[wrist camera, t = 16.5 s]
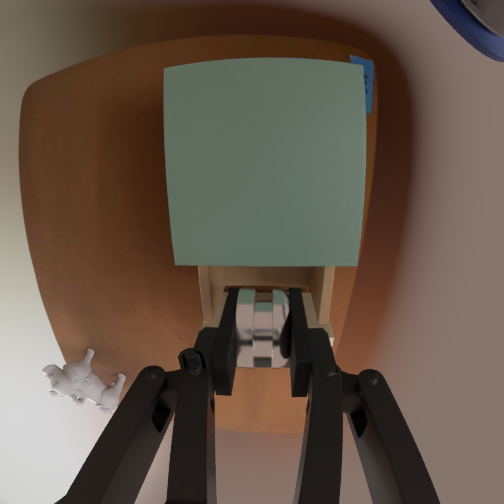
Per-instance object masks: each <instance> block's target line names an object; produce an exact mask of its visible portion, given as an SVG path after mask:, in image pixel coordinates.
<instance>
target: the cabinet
mask: <svg viewBox="0 0 504 504" xmlns="http://www.w3.org/2000/svg"><path fill="white" fill-rule="evenodd" d="M163 105H164V147H165V166H166V182H167V195H168V206H169V217H170V226H171V235H172V244H173V252H174V259H175V265H194V266H357V263H358V255H359V247H360V239H361V229H362V218H363V206H364V191H365V170H366V108H365V88H364V74H363V65H358V64H352V63H345V62H337V61H328V60H317V59H303V58H241V59H226V60H215V61H206V62H198V63H191V64H185V65H179V66H173V67H167V68H164V94H163Z"/></svg>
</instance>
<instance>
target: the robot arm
mask: <svg viewBox="0 0 504 504" xmlns="http://www.w3.org/2000/svg"><path fill="white" fill-rule="evenodd" d="M457 2H458V3H459V4H460V5H461V6H462V8H463V9H464V10H465V11H466V12H467V13H468V14H469V15H470V16H471V17H472V18H473V19H474V20H475V21H476V22H477V23H478V24H479V25H480V26H481V27H482V28H484V29H485V30H486V31H488V32H489V33H491V34H492V35H494V36H496V37H498V38H504V0H457ZM239 290H240V288H235V287H230V288H229V291H228V295H227V298H226V302H225V305H224V309H223V312H222V316H221V320H220V323H219V327H204V328H203V329H202V330H201V331H200V332H199V334H198V337H197V340H196V343H195V345H194V348H188V349H185V350H183V351H182V352H181V353H180V354H179V356H178V359H179V363H180V367H181V369H179V370H176V371H169V372H165V371H164V370H163V369H162V368H161V367H159V366H148V367H146V368H144V369H143V370H142V371H141V372H140V373H139V375H138V376H137V378H136V379H135V381H134V382H133V384H132V386H131V387H130V389H129V390H128V392H127V393H126V395H125V397H124V398H123V400H122V401H121V403H120V405H119V406H118V408H117V410H116V411H115V413H114V414H113V416H112V418H111V419H110V421H109V422H108V424H107V426H106V427H105V429H104V431H103V432H102V434H101V436H100V437H99V439H98V441H97V442H96V444H95V446H94V447H93V449H92V451H91V452H90V454H89V456H88V457H87V459H86V461H85V463H84V464H83V466H82V468H81V470H80V471H79V473H78V475H77V476H76V478H75V480H74V482H73V483H72V485H71V487H70V489H69V490H68V492H67V494H66V495H65V496H64V497H63V498H62V499H60V500H59V501H57V502H56V503H55V504H134V503H135V500H136V498H137V496H138V493H139V491H140V489H141V487H142V485H143V482H144V480H145V478H146V475H147V473H148V471H149V469H150V467H151V464H152V462H153V460H154V457H155V455H156V453H157V451H158V448H159V446H160V444H161V442H162V440H163V437H164V435H165V433H166V430H167V428H168V426H169V424H170V422H171V419H172V417H173V415H174V413H175V417H174V426H173V435H172V444H171V453H170V463H169V475H168V488H167V500H166V503H165V504H217V499H216V468H215V400H214V393H215V390H216V395H226V396H231V394H232V388H233V381H234V375H235V369H236V363H237V362H236V352H235V321H236V307H237V299H238V293H239ZM289 299H290V307H291V344H290V354H289V358H290V375H291V392H292V397H307V393H308V397H309V398H308V403H307V407H306V420H305V428H304V436H303V444H302V451H301V458H300V464H299V470H298V477H297V482H296V488H295V494H294V499H293V504H339V497H340V485H341V468H342V443H343V413H346V415H347V418H348V421H349V424H350V428H351V430H352V434H353V437H354V440H355V443H356V447H357V450H358V453H359V457H360V460H361V463H362V467H363V470H364V473H365V477H366V480H367V484H368V487H369V491H370V495H371V498H372V502H373V504H440V502H439V499H438V496H437V494H436V491H435V488H434V486H433V483H432V481H431V478H430V476H429V473H428V471H427V469H426V466H425V464H424V461H423V459H422V457H421V454H420V452H419V450H418V447H417V445H416V443H415V441H414V438H413V436H412V434H411V432H410V430H409V427H408V425H407V423H406V421H405V419H404V417H403V415H402V413H401V411H400V408H399V407H398V404H397V402H396V400H395V398H394V396H393V394H392V392H391V390H390V388H389V387H388V384H387V382H386V380H385V378H384V377H383V375H382V374H381V373H380V372H378V371H376V370H373V369H366V370H363V371H361V372H360V373H359V375H354V374H348V373H345V372H343V371H341V369H340V368H339V367H338V366H337V365H336V362H335V358H334V354H333V350H332V346H331V343H330V339H329V335H328V333H327V332H326V331H325V329H324V328H308V324H307V318H306V313H305V308H304V302H303V297H302V292H301V288H289Z"/></svg>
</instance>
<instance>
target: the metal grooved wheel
mask: <svg viewBox="0 0 504 504" xmlns="http://www.w3.org/2000/svg"><path fill="white" fill-rule="evenodd" d="M290 344H291V307H290V299H289V296H288V294H287V292H286V291H284V290H283V289H279V288H273V290H272V300H257V290H256V288H240V290H239V293H238V299H237V307H236V321H235V352H236V362H237V366H238V368H248V369H254V368H255V361H256V357H257V358H271V369H280V368H282V367H284V366H285V365H286V364H287V362H288V360H289V354H290Z"/></svg>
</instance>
